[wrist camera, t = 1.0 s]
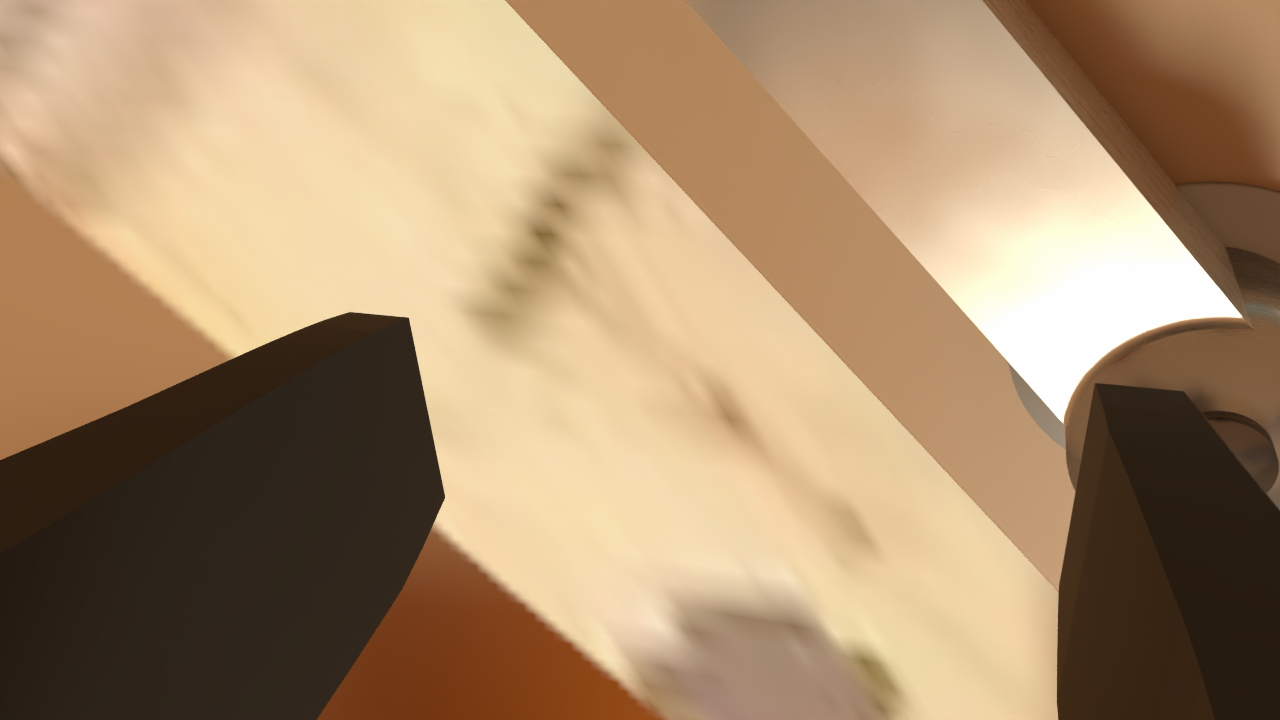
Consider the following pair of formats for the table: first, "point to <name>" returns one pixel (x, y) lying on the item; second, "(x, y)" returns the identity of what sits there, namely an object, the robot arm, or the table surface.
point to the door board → (872, 254)
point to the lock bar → (1027, 203)
